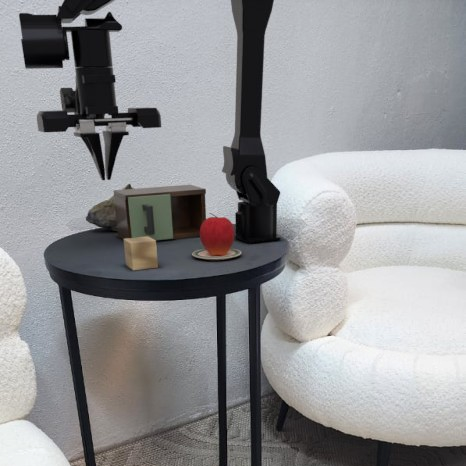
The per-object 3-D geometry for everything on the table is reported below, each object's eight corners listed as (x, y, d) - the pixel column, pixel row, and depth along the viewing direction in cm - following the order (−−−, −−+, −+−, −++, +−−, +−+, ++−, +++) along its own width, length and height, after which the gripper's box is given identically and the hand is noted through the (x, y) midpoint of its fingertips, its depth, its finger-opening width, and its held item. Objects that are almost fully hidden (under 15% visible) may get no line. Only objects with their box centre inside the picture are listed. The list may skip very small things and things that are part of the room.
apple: (193, 252, 115) (191, 210, 112) (241, 251, 115) (240, 209, 111) (190, 262, 108) (188, 218, 105) (241, 261, 108) (240, 217, 105)
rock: (136, 217, 140) (141, 182, 131) (143, 242, 139) (149, 208, 130) (81, 221, 137) (82, 185, 128) (88, 247, 136) (89, 213, 126)
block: (150, 262, 109) (148, 236, 107) (158, 267, 105) (156, 240, 103) (125, 265, 107) (123, 238, 105) (133, 270, 104) (130, 243, 102)
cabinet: (192, 229, 134) (190, 184, 130) (207, 235, 128) (205, 188, 123) (118, 236, 129) (113, 190, 125) (129, 243, 123) (125, 195, 118)
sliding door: (172, 238, 125) (169, 193, 121) (179, 241, 122) (176, 196, 118) (131, 242, 122) (127, 197, 118) (138, 246, 119) (134, 199, 115)
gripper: (137, 68, 114) (145, 172, 122) (23, 70, 108) (40, 179, 116) (158, 66, 105) (165, 177, 113) (35, 67, 99) (52, 185, 107)
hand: (105, 179), depth 113 cm, fingers closed
